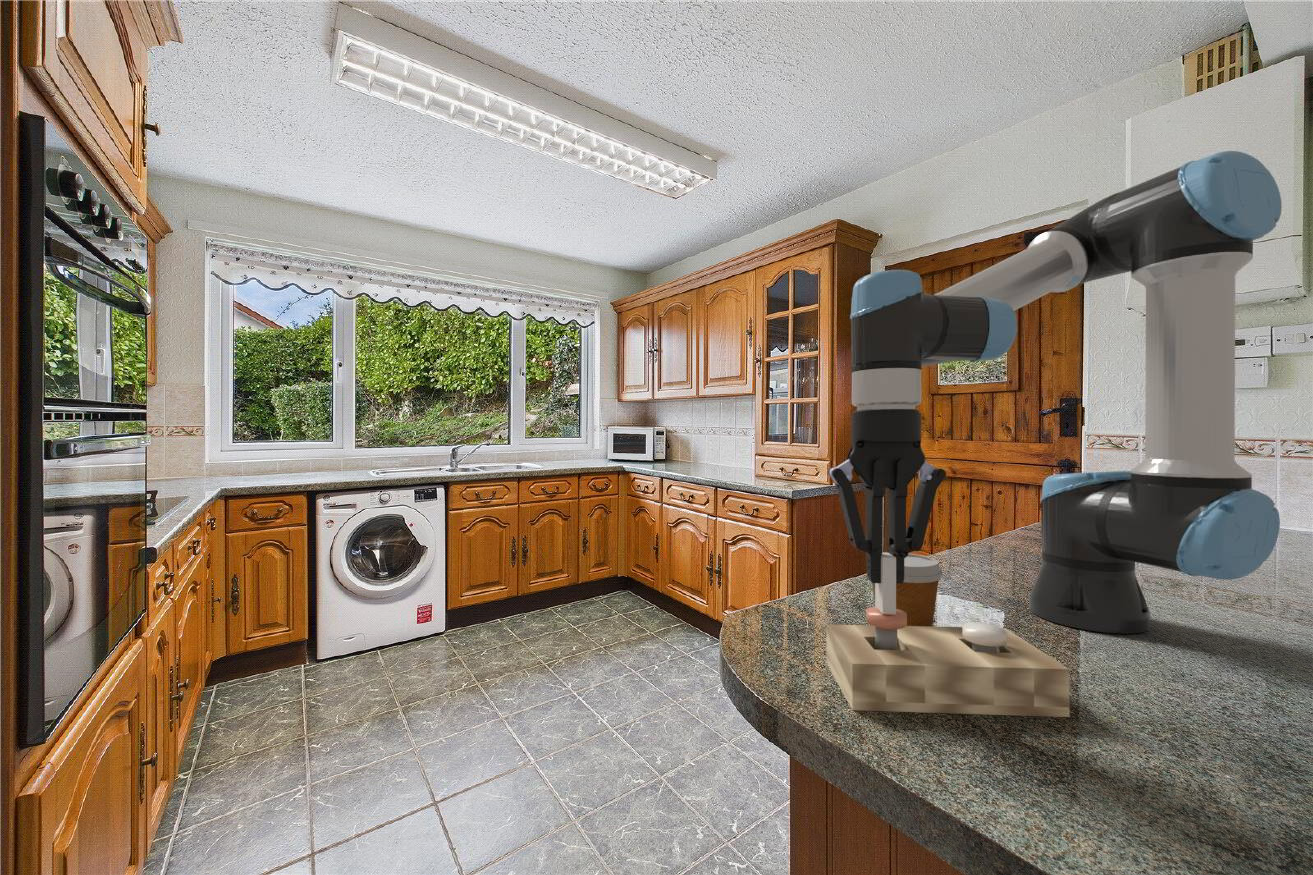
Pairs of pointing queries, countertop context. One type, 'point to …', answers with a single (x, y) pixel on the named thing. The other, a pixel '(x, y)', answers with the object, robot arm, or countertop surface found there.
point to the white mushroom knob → (984, 636)
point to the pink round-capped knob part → (886, 627)
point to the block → (945, 673)
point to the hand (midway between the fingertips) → (885, 610)
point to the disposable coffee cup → (918, 589)
